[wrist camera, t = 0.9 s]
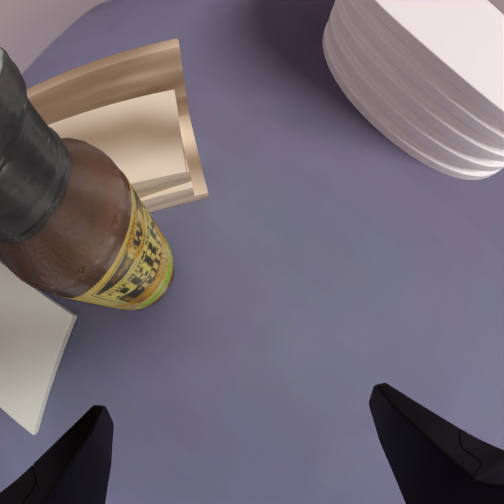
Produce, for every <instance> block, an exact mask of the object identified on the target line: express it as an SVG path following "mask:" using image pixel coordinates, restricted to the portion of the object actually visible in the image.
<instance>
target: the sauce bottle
mask: <svg viewBox="0 0 504 504" xmlns="http://www.w3.org/2000/svg"><path fill="white" fill-rule="evenodd" d="M26 91H27V89H26V84H25V81H24V79H23V77H22V75H21V73H20V71H19V69H18V67H17V66H16V65H15V63H14V62H13V61H12V60H11V59H10V57H9V56H8V54H7V52H6V51H5V50H4V49H2V48H1V47H0V257H1V259H2V261H3V262H4V263H5V264H6V266H7V267H8V268H9V270H10V271H11V272H13V274H15V275H16V277H18V278H19V279H20V280H21V281H23V282H25V283H26V284H28V285H30V286H31V287H33V288H37V289H41V290H43V291H47V292H50V293H52V294H54V295H57V296H60V297H63V298H68V299H72V300H77V301H81V302H87V303H92V304H97V305H101V306H106V307H112V308H116V309H122V310H140V309H144V308H147V307H149V306H150V305H153V304H155V303H157V302H158V301H159V300H160V299H161V298H162V297H163V295H164V294H165V293H166V291H167V290H168V288H169V286H170V284H171V282H172V280H173V277H174V264H173V259H172V253H171V249H170V247H169V244H168V243H167V241H166V239H165V238H164V236H163V235H162V233H161V231H160V230H159V228H158V226H157V225H156V223H155V222H154V220H153V219H152V217H151V216H150V214H149V212H148V211H147V209H146V207H145V206H144V204H143V203H142V202H141V200H140V198H139V197H138V195H137V193H136V192H135V190H134V188H133V187H132V185H131V183H130V182H129V180H128V178H127V177H126V175H125V174H124V172H122V171H121V170H120V169H119V168H118V167H117V165H116V164H115V163H114V161H112V159H111V158H110V157H109V156H108V155H106V154H105V153H104V152H103V151H102V150H100V149H98V148H97V147H95V146H93V145H90V144H88V143H87V142H85V141H82V140H78V139H73V138H60V137H59V135H58V134H57V132H56V131H54V130H53V129H52V128H51V127H49V126H48V125H47V124H46V123H45V121H44V120H43V118H42V117H41V116H40V114H39V113H38V112H37V111H36V109H35V108H34V107H33V105H32V103H31V102H30V100H29V99H28V97H27V92H26Z"/></svg>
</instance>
